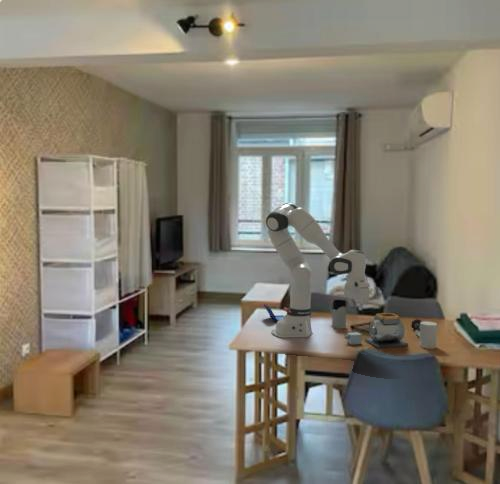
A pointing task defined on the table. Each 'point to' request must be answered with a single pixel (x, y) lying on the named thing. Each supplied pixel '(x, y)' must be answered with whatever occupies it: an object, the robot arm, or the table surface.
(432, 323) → the cup
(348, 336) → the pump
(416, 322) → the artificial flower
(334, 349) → the table surface
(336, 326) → the glass holder
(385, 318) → the motor
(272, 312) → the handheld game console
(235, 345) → the table surface
